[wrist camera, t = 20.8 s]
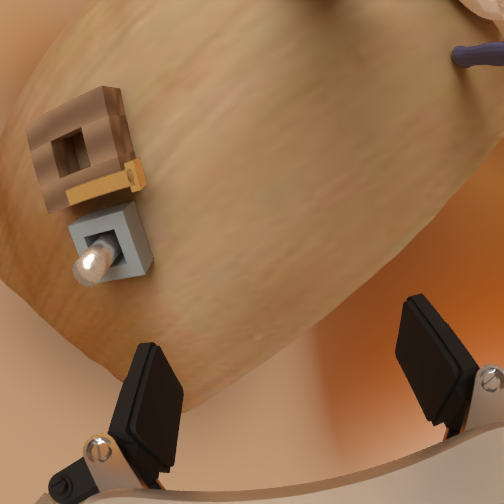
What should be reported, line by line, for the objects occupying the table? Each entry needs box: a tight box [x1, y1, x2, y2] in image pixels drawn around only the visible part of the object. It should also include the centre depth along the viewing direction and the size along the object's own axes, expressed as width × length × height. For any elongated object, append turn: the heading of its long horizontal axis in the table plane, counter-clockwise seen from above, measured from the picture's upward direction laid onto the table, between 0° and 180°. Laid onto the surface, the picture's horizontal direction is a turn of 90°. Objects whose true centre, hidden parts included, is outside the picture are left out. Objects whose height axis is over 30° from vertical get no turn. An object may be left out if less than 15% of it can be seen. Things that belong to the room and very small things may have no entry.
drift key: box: [65, 158, 147, 205], centre depth 32 cm, size 4×10×2 cm, turn 101°
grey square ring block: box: [68, 200, 154, 283], centre depth 41 cm, size 10×10×5 cm
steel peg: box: [73, 229, 122, 287], centre depth 38 cm, size 4×4×12 cm
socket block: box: [25, 86, 136, 214], centre depth 34 cm, size 14×14×6 cm
